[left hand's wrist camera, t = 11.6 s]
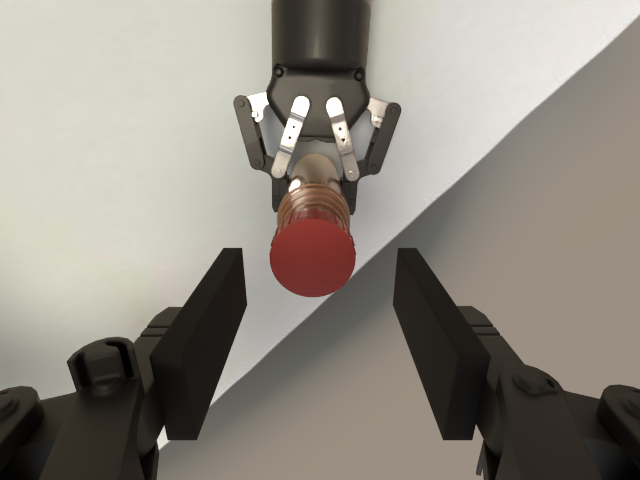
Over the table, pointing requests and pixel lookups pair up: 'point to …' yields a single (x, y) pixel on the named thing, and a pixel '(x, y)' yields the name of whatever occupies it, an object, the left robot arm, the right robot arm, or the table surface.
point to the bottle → (314, 189)
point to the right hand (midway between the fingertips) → (313, 216)
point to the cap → (312, 253)
